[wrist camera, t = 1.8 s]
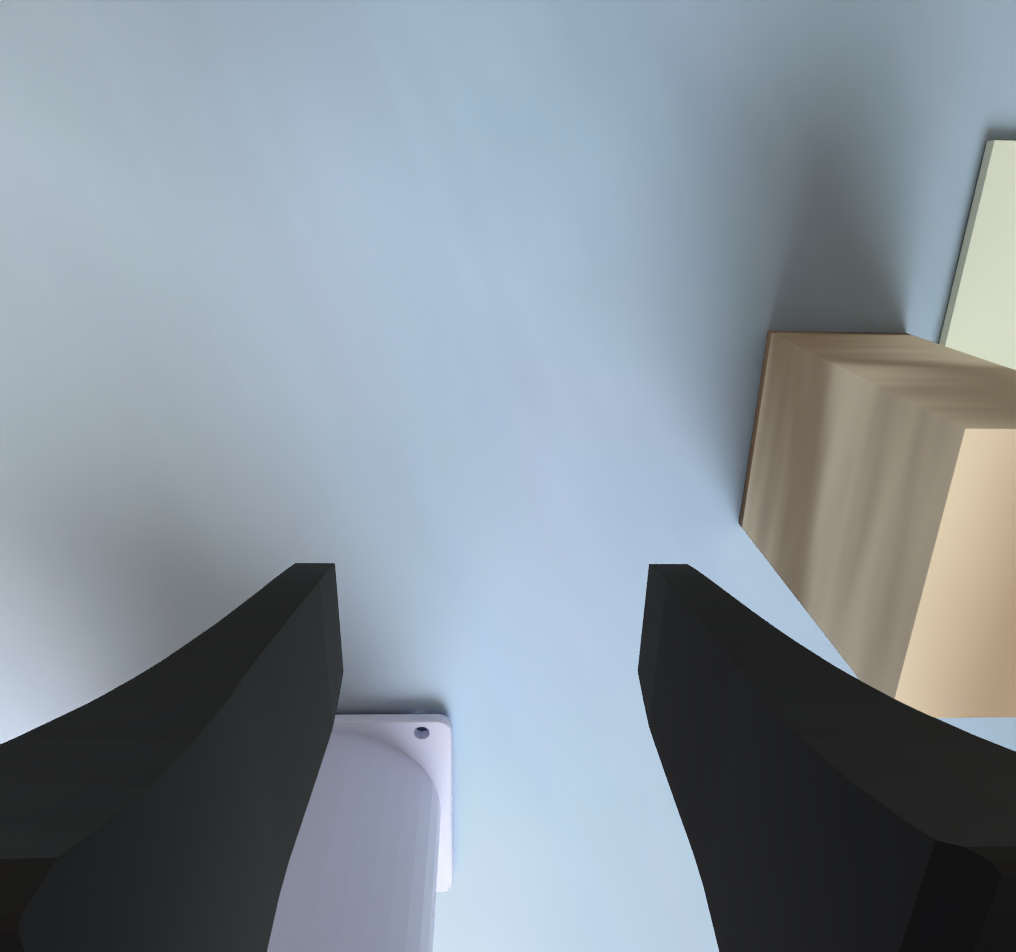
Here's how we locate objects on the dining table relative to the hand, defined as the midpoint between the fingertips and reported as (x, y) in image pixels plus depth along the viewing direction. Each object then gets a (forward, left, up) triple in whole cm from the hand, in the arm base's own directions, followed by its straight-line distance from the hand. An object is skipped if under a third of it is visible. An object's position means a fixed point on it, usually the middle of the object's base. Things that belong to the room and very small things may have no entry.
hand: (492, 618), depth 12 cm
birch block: (+10, 0, -10) cm, 14 cm away
